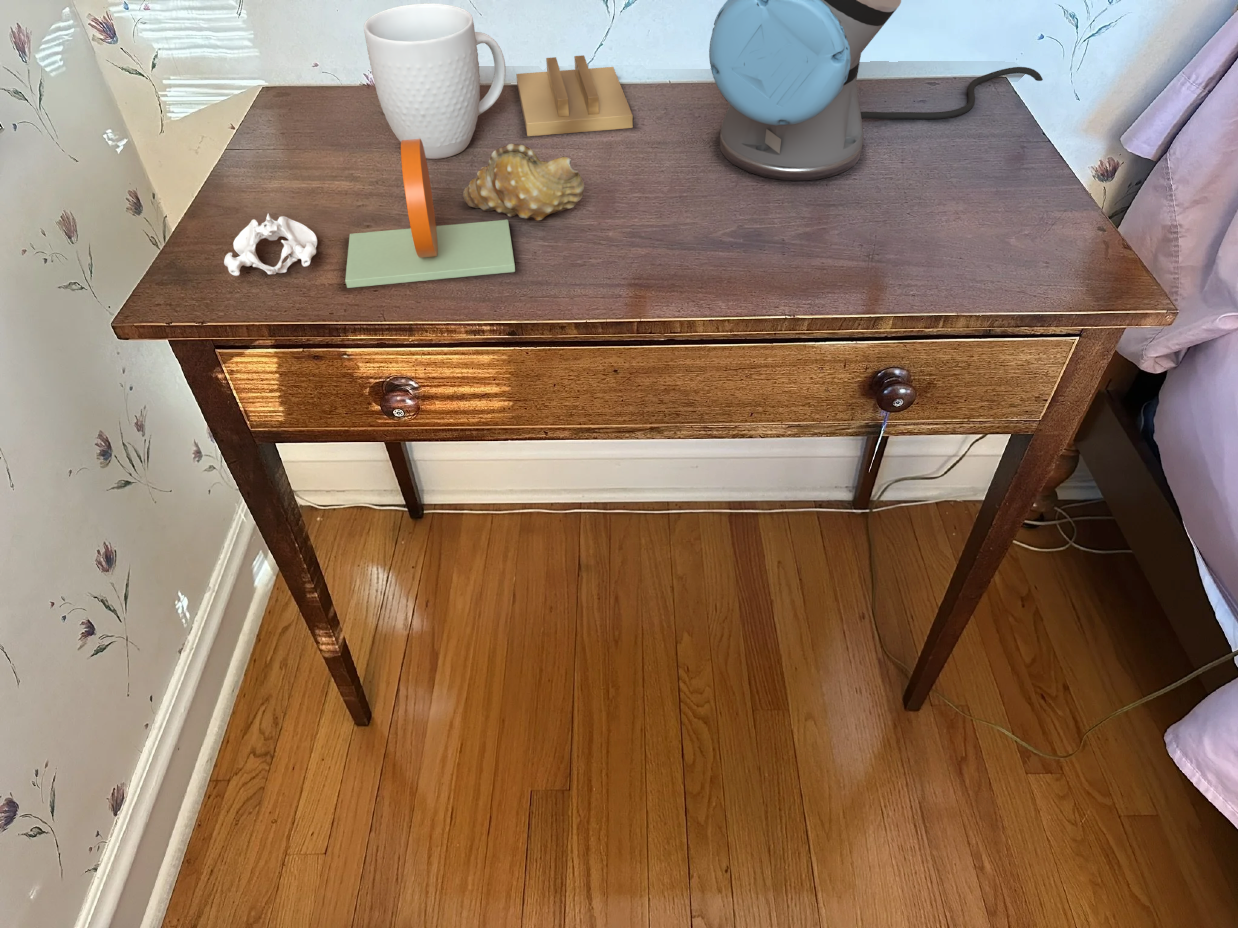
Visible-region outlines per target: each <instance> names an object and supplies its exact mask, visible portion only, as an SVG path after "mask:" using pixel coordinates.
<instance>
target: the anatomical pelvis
mask: <svg viewBox="0 0 1238 928" xmlns="http://www.w3.org/2000/svg"><path fill="white" fill-rule="evenodd" d="M265 218H266V219H265V221H264V222H261V224H260V225H259V221H257V220H256V219H251V221H250V222H249V223H248V225H247V226H245V227H244V228H243V229H242V230H241V231H240V232H239V233H238V235H237V236H236V237H235V238H234V240H233V243H232V245H233V249H234V251H235V253H237V254H238V255H239V256H237V257H236V256H235V257H233V252H228V253H226V255H225V257H224V259H223V265H224V266H225V267H227V271H228V273H229V274H230V275H232V276H235V277H238V276H240V274H241V272H240V270H241V267H243V266H244V267H250V266H252V268H257V269H261V270H263V271H264V272H266V273H267V275H276V274H283V273H287V272H288V268H289V267H290V266H291V265H292V264H293V263H295V262H298V260H301V265H302V267H309V266H310V264H311V261H312V259H313V257H314V256H315V255H316V254H317V246H318V237H317V235H316V233H315V232H314V231H313V230H311V229H310V228H309V227H308V226H306V225H304V224H303V223H301V222H299V221H296V220H294V219H292V218H290V217H287V216H285V215H280V216H279V217H278V219H277V220H275V219H273V218H272V217H271V215H270V213H267V215H266V217H265ZM280 237H283V238H285V239H287V240H283V239H281V240H280V243H282V245H283V247H282V250H281V253H280V258H279V261H278V263H277V264H276V265H275V266H271V265H268V264H264V263H263V262H262V261H261V260H260V258H259V256H258V254H257V251H256V247H257V244H258V243H259V242H260V241H262V240H263V239H267V240H268V241H277V240H278V239H279V238H280ZM287 256H288V258H287V259H286V261H284V259H285V258H286V257H287ZM283 261H284V262H283Z"/></svg>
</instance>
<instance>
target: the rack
mask: <svg viewBox="0 0 1238 928" xmlns="http://www.w3.org/2000/svg"><path fill="white" fill-rule="evenodd" d="M545 59H546V60H545V62H546V71H538V72H537V71H536V72H522V73H516V74H515V75H516V86H517V93H518V97H519V101H520V107H521V111H522V116H523V122H524V126H525V132H526V136H527V137H537V136H538V137H539V136H548V135H551V136H552V135H562V134H563V135H564V134H574V133H575V134H577V133H586V132H587V133H589V132H600V131H611V130H612V131H614V130H625V129H633V128H634V121H633V119H634V115H633V112H632V110H631V108H630V105H629V102H628V100H627V97H626V95H625V93H624V90H623V87H622V85H621V82H620V79H619V78H618V74H617V72H616V70H615V67H614V66H605V67H591V68H589V65H588V62H587V60H586V56H585V55H574V57H573V59H574V69H564V70H561V69H560V66H559V63H558V59H557V57H555V56H554V57H546V58H545Z"/></svg>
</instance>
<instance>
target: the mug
mask: <svg viewBox="0 0 1238 928" xmlns="http://www.w3.org/2000/svg"><path fill="white" fill-rule="evenodd" d="M363 32H364V38H365V43H366V48H367V49H366V50H367V55H368V60H369V65H370V69H371V74H372V79H373V83H374V87H375V92H376V95H377V99H378V101H379V105H380V108H381V109H382V113H383V114H384V117H385V120H386V122H387V123H388V125H389V127H390V129H391V131H392V132H393V134H394V135H395V138H396V139H397V140H398V141H399V142H400V143H401V141H402V140H410V139H421V140H422V143H423V147H424V151H425V156H426V160H427V159H429V160H435V159H436V160H440V159H446V158H450V157H453V156H455V155H458V154H460V153H462V152H464V151H465V150H466V149H467V147H468V146H469V145H470V143H471V140H472V138H473V136H474V133H475V130H476V126H477V123H478V119H479V118H478V116H480V115H481V114H483V113H485V112H486V111H487V110H489V109H490V108H491V107H492V106H493V105H495V103H496V102H497V101H498V99H499V98H500V96H501V94H502V93H503V92H502V91H503V89H504V85H505V82H506V74H507V73H506V70H507V69H506V61H505V56H504V53H503V50H502V49H501V47H500V45H499V43H498V42H497V41H496V40H495V39H494V38H493V37H492V36H491V35H489V34H487V33H484V32H481V31H476V30H475V22H474V18H473V15H472V14H471V13H470V12H469V11H468V10H466V9H464V8H462V7H459V6H456V5H451V4H444V3H433V2H432V3H431V2H430V3H426V2H425V3H412V4H404V5H399V6H398V5H397V6H394V7H391V8H387V9H385V10H381V11H379V12H377V13H375V14H373V15H371V16H369V17H368V19H366V21H365V22H364V24H363ZM480 44H485V45H486V46H487V47H488V48H489V50H490V53H491V55H492V58H493V65H494V68H493V69H494V72H493V79H492V82H491V85H490V87H489V90H487V93H486V94H485V95H484V97H483V98H481V95H480V93H481V88H480V87H481V81H480V80H481V75H480V61H479V52H478V47H477V46H478V45H480Z"/></svg>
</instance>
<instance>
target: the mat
mask: <svg viewBox="0 0 1238 928" xmlns="http://www.w3.org/2000/svg"><path fill="white" fill-rule="evenodd" d="M436 232H437V244H438V254H437V256H434V257H423V258H419V257H418V255H417V253H416V249H415V246H414V242H413V237H412V232H411V227H409V228H400V229H388V230H377V231H366V232H359V233H358V232H357V233H356V232H355V233H349V237H348V247H347V260H346V269H345V280H344V282H345V285H346V289H353V288H363V287H373V286H385V285H393V284H403V283H405V284H406V283H415V282H423V281H424V282H425V281H436V280H446V279H455V278H466V277H476V276H487V275H496V274H497V275H498V274H507V273H508V274H509V273H515V272H516V265H515V258H514V251H513V243H512V237H511V230H510V224H509V219H499V220H487V221H478V222H477V221H476V222H466V223H456V224H455V223H454V224H445V225H444V224H443V225H436Z"/></svg>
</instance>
